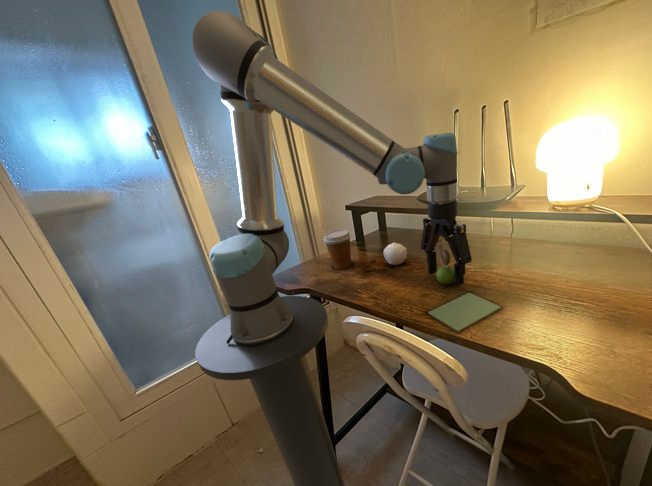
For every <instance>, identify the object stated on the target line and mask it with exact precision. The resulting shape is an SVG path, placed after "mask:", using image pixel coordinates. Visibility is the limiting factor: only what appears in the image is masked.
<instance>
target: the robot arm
mask: <svg viewBox="0 0 652 486" xmlns="http://www.w3.org/2000/svg"><path fill="white" fill-rule="evenodd" d="M191 39H192V42H191V43H192V49H193V53H194V56H195V59H196V61H197V63H198V65H199V67H200V68H201V70H202V71H203V72H204V74H206V76H207V77H208V78H209V79H211V80H212V81H213V82H214V83H216V84H217V85H219V93H220V100H221V102H222V103H223V104H224V105H225V106H226V107H227V108H228V110H229V113H230V120H231V121H230V123H231V129H232V138H233V147H234V154H235V163H236V173H237V180H238V182H237V183H238V190H239V198H240V206H241V214H242V216H241V218H239V220H238V221H236V227H237V235H233V236H230V237H227V238H226V239H223V240H221V241H219V242H218V243H216V244H215V245H214V246H213V247H212V248H211V249H210V251H209V257H208V258H209V261H210V265H211V270H212V272H213V273H214V275H215V277H216V279H217V283H218V284H219V287H220V289H221V292H222V294H223V296H224V299H225V302H226V304H227V306H228V308H229V314H230V327H231V336H230V337H229V339H228V340H227V342H226V343H228V344H229V343H230V341H231V340H232V338H233V340H234V342H235V343H236V344H238V345H241V346H257V345H262V344H265V343H268V342H271V341H273V340H275V339H277V338H279V337H280V336H282V335H283V334H285V333H286V332H287V331H288V330H289V329H290V328H291V326H292V325H293V322H294V318H293V315H292V312H291V310H290V309H289V307H288V306H287V305H286V304H285V302H284V301H283V300H282V298H281V297H282V296H280V294H279V292H278V288H277V285H276V282H275V279H274V275H273V274H274V273H275V272H276V270H277V269H278V268H279V266H280V265H281V264H282V263H283V262H284V261H285V259H286V257H287V256H288V252H289V250H290V239H289V236H288V234H287V232H286V231H285V223H284V220H282V219H281V218H280V217H279V215H278V204H277V203H278V202H277V189H276V187H277V186H276V175H275V174H276V172H275V159H274V141H273V128H272V127H273V126H272V114H273V112H275V113H277V114H279V115H281V116H282V117H283V118H285V119H286V120H288V121H290V122H291V123H292V124H295V126H297V127H299V128H301V129H302V130H304V131H305V132H307V133H308V134H310V135H311V136H313V137H315V138H316V139H317V140H319V141H321V142H322V143H323V144H325V145H327V146H328V147H330V148H331V149H332V150H335V152H338V153H339V154H340V155H342V156H343V157H345V158H347V159H348V160H350V161H351V162H353V163H354V164H356V165H357V166H359V167H360V168H362V169H364V170H365V171H367V172H368V173H370V174H371V175H373V176H374V177H375V178H376V179H377V183H378V184H379V185H381V186H382V185H387V186H388V188H389V189H390V190H391V191H393V192H395V193H397V194H399V195H410V194H413V193H414V192H416V191H417V190H419V188H420V187H421V186H422V184H423V182H424V180H425V181H426V182H425V183H426V185H425V186H426V200H427V202H428V203H427V216H428V217H425V218H423V219H422V225H423V228H422V235H421V242H420V249H421V250H422V251H423V250H424V253H425V254H426V255H425V256H426V263H427V272H428V275H430V276H432V275H434V274H436V272H437V270H438V265H437V264H438V263H437V251H436V246H437V244H438V242H437V241H438V240H440V237H442V238H444V240H445V242H447V244H448V247H449V248H450V251H451V254H452V257H453V259H454V261H455V263H454V264H453V269H454V281H453V283H454V287H455V288H458V287H460V286H462V285H464V284H465V275H466V265H467V264H469V263H471V262H472V261H473V259H472V255H471V254H472V253H471V250H470V246H469V242H468V237H467V224H465V223H463V224H459V223H458V222H457V216H458V214H459V204H458V203H459V201H458V200H457V198H458V146H457V137H456V134H455V133H453V132H442V133H435V134H428V135H425V136H424V138H423V143H422V145H417V146H413V147H403V146H402V145H400V144H399V143H397V142H395V141H394V140H393V139H392V138H391V137H389V136H387V135H386V134H385V133H383V132H382V131H380V130H379V129H377V128H376V127H375V126H373V125H372V124H370V123H369V122H367V121H366V120H365V119H364V118H362V117H360V116H359V115H357V114H356V113H354V112H353V111H352V110H350V109H349V108H347V107H346V106H345V105H343V104H342V103H340V102H339V101H337V100H336V99H334V98H333V97H331V96H330V95H329V94H327V93H326V92H325V91H323V90H321V89H320V88H319V87H317V86H316V85H314V84H313V83H312V82H310V81H309V80H308V79H306V78H305V77H303V76H302V75H300V74H299V73H297V72H296V71H295V70H293V69H291V68H290V67H288V65H286V64H285V63H283V62H281V61H280V60H279V58H278V56H277V54H276V52H275V50H274V49H273V47H272V46H271V44H270V43H269V42H268V40H266V38H265V37H264V36H262V35H261V34H260V33H258V32H256V31H255V30H253V29H252V28H251V27H250V26H248V25H247V23H245V22H244V21H243V20H242V19H240V18H239V17H238V16H236V15H234V14H232V13H231V12H226V11H221V10H214V11H209V12H207V13H205V14H203V15H202V16H201V17H199V19H198V20H197V22H196V23H195V25H194V27H193V30H192V37H191Z"/></svg>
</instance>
